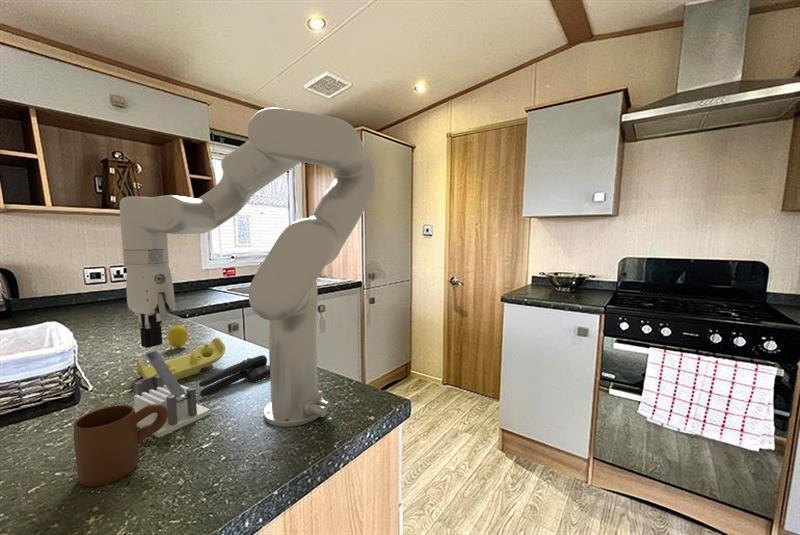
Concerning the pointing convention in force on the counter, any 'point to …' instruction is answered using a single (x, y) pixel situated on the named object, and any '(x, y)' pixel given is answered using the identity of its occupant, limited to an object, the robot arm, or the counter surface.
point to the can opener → (237, 374)
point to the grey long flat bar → (167, 376)
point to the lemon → (177, 336)
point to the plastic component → (188, 361)
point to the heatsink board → (166, 405)
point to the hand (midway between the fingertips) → (152, 345)
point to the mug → (112, 441)
